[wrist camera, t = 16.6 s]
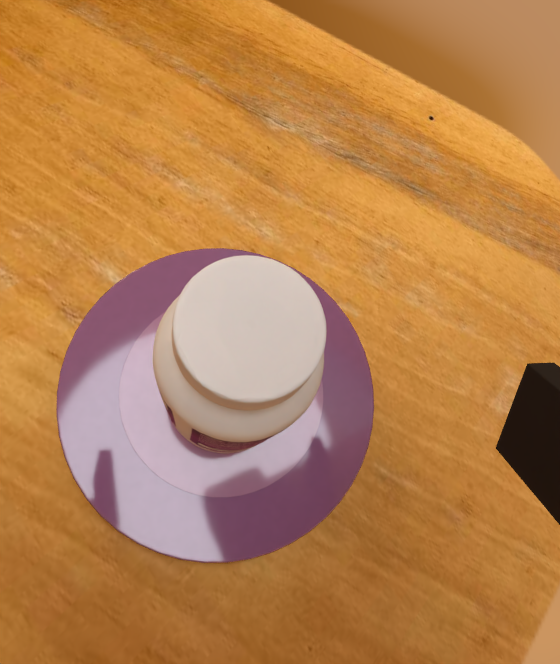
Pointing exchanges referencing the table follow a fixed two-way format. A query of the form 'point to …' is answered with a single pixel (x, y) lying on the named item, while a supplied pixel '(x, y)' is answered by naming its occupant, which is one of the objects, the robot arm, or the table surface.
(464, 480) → the table surface
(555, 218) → the table surface
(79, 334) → the saucer
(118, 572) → the table surface
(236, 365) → the pill bottle
